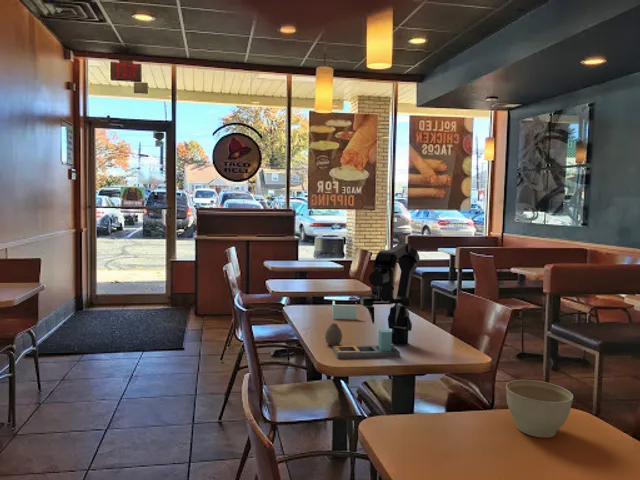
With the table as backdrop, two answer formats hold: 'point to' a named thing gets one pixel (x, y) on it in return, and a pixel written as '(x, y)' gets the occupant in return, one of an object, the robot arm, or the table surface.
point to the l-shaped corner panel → (344, 311)
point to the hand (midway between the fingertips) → (384, 323)
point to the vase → (333, 335)
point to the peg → (385, 340)
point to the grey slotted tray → (364, 352)
